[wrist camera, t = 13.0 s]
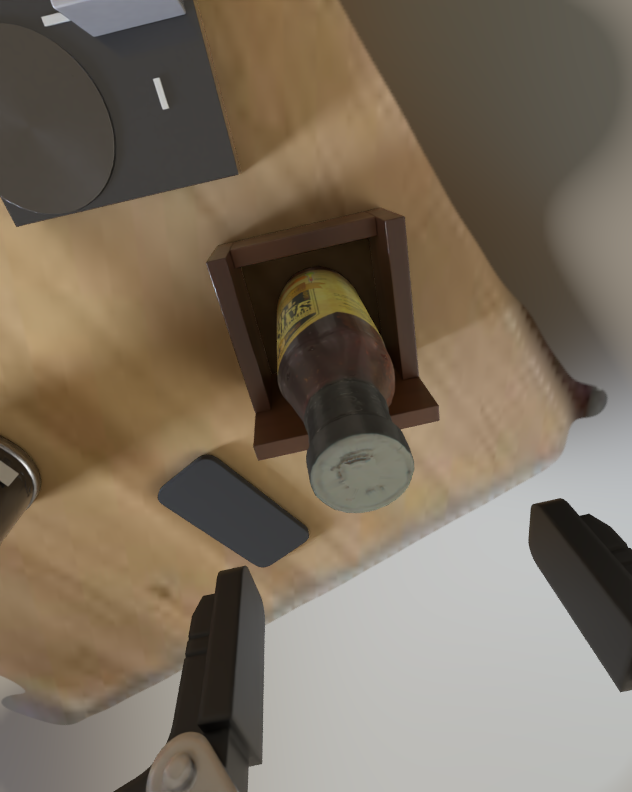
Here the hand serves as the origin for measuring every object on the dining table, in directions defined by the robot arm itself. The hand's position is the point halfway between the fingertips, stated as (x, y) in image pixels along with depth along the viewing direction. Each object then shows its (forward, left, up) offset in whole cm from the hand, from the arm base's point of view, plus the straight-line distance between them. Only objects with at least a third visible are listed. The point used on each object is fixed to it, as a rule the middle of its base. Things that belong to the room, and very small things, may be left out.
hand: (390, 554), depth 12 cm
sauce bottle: (0, 0, -24) cm, 24 cm away
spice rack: (0, 0, -24) cm, 24 cm away
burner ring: (-13, +14, -21) cm, 29 cm away
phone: (-12, -19, -24) cm, 33 cm away
